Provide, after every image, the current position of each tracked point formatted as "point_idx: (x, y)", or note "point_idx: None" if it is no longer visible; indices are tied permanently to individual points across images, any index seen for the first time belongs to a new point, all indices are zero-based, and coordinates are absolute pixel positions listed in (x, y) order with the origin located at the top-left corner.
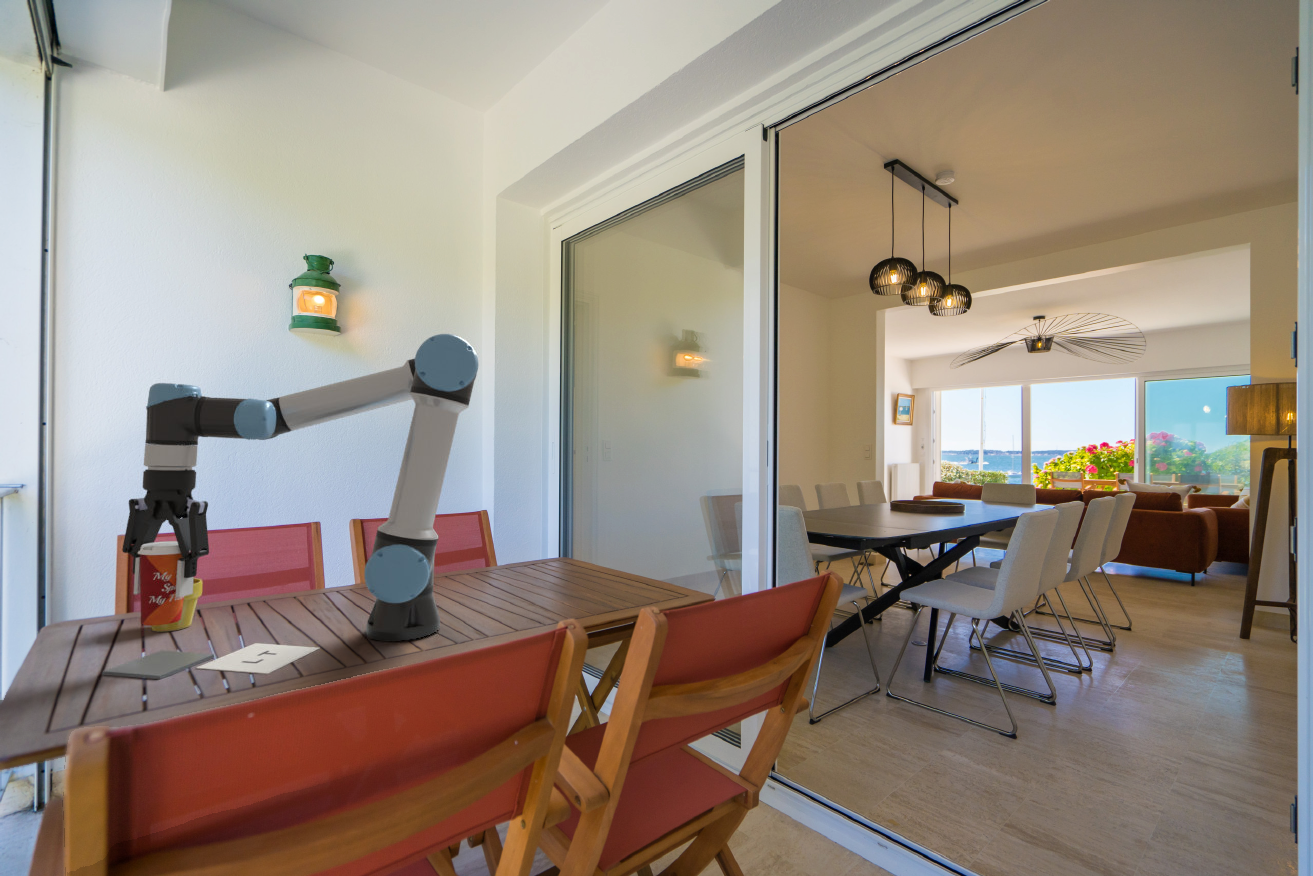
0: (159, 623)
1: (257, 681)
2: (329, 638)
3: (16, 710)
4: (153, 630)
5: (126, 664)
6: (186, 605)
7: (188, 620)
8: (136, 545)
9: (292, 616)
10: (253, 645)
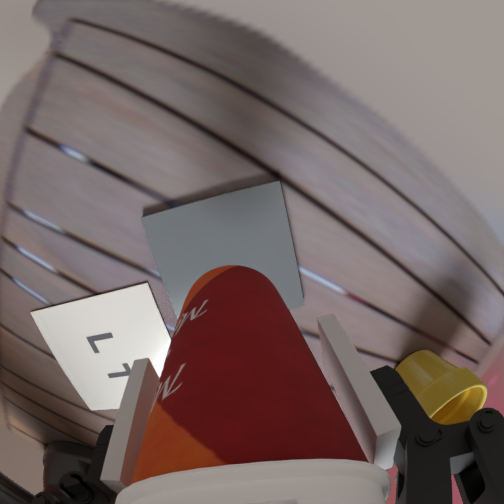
0: (192, 286)
1: (14, 285)
2: None
3: (215, 19)
4: (423, 350)
5: (278, 226)
6: None
7: None
8: (438, 483)
9: None
10: None
